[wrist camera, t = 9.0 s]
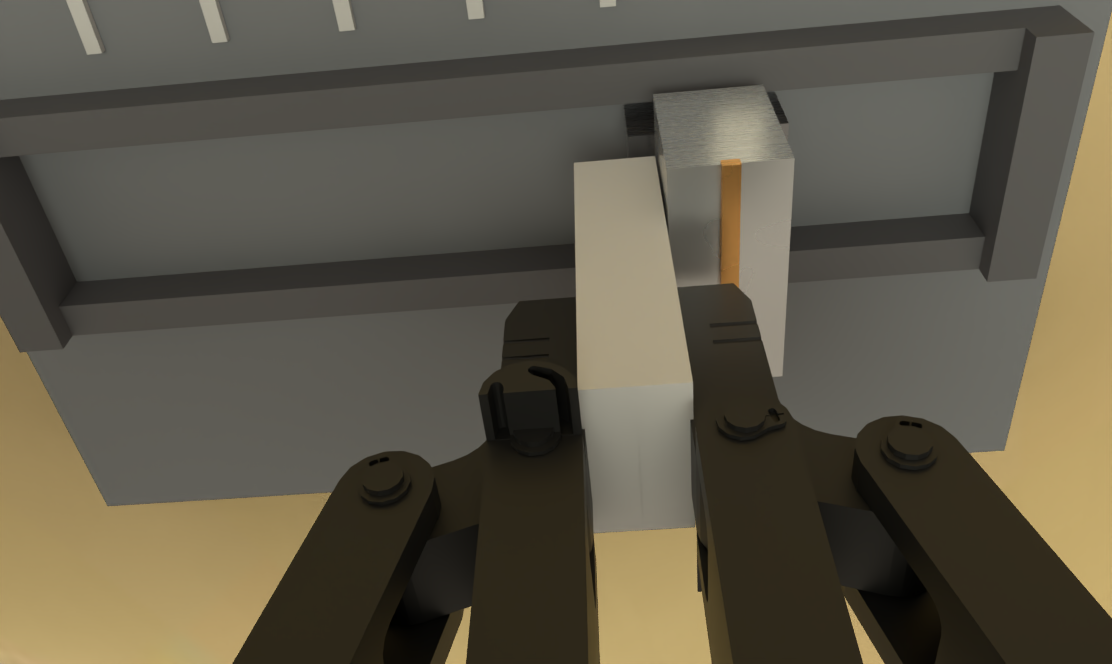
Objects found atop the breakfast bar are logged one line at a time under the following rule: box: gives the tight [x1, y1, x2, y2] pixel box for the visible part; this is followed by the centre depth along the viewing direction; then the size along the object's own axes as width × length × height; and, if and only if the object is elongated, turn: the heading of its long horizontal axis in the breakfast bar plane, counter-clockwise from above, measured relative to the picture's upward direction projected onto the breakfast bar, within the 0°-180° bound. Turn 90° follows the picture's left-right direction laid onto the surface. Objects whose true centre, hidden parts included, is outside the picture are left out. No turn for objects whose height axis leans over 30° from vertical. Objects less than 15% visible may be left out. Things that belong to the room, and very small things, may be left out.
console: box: [0, 0, 1112, 506], centre depth 21 cm, size 24×18×4 cm
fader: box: [624, 85, 795, 377], centre depth 18 cm, size 3×4×5 cm, turn 5°
